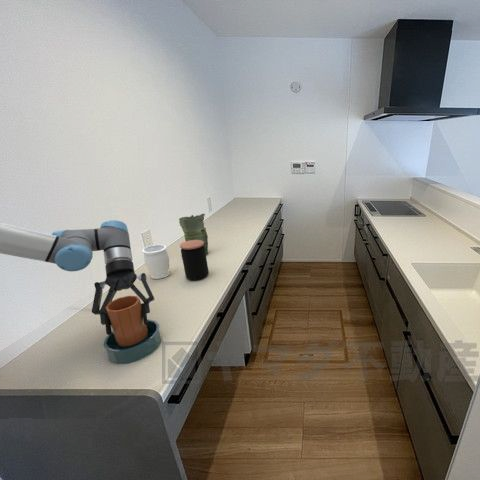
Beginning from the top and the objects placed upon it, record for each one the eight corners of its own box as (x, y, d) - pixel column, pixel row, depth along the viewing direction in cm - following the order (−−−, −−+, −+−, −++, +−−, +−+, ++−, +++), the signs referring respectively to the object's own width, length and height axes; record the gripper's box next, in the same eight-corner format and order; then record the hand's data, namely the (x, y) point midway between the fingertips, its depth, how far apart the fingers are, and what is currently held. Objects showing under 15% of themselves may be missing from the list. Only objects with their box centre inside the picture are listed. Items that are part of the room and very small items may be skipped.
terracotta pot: (121, 351, 81) (110, 315, 76) (113, 337, 86) (102, 303, 81) (151, 336, 87) (143, 302, 82) (142, 325, 92) (133, 292, 87)
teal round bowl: (116, 373, 78) (111, 359, 76) (103, 348, 87) (98, 335, 85) (169, 345, 89) (166, 332, 87) (152, 326, 98) (149, 313, 96)
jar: (144, 276, 133) (137, 249, 128) (165, 268, 141) (160, 242, 136) (155, 282, 127) (148, 254, 122) (176, 274, 135) (170, 247, 130)
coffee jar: (199, 269, 140) (193, 238, 134) (213, 274, 136) (208, 241, 130) (181, 278, 131) (174, 245, 125) (196, 283, 127) (190, 249, 121)
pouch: (184, 258, 153) (176, 217, 144) (195, 250, 164) (188, 211, 155) (202, 259, 152) (195, 218, 143) (212, 251, 163) (206, 212, 154)
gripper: (157, 260, 97) (168, 319, 90) (81, 274, 86) (87, 342, 80) (154, 252, 91) (166, 315, 84) (73, 266, 80) (78, 339, 73)
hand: (128, 328), depth 82 cm, fingers closed on terracotta pot, 9 cm apart
